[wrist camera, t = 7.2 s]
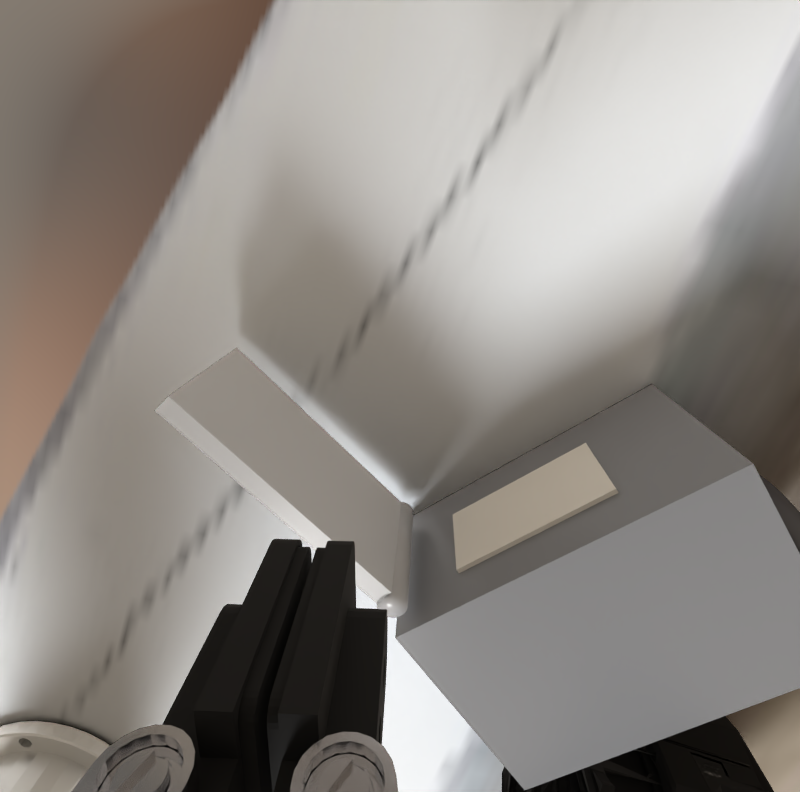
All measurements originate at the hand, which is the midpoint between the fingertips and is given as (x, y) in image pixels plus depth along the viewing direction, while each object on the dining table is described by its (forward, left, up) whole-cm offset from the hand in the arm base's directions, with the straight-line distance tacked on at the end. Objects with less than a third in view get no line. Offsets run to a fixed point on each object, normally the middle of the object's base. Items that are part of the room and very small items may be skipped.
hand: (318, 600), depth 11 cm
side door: (-4, -1, -14) cm, 15 cm away
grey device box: (+3, -12, -15) cm, 20 cm away
